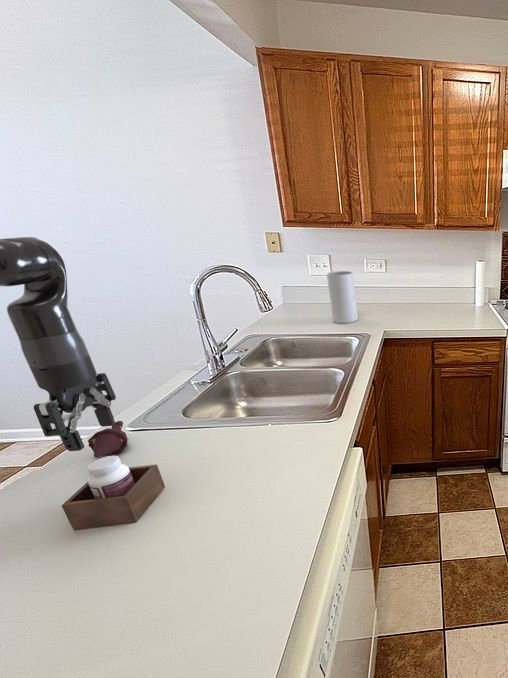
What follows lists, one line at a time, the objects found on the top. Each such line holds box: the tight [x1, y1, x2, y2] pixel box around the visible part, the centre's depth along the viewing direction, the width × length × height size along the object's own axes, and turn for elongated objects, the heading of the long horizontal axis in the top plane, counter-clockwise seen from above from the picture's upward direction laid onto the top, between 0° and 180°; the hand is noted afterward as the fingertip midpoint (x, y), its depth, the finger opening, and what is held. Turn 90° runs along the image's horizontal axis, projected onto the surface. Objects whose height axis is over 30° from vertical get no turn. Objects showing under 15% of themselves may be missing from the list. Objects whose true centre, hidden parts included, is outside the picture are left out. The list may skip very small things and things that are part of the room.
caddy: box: [61, 464, 166, 531], centre depth 80 cm, size 11×11×6 cm
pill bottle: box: [86, 455, 135, 499], centre depth 79 cm, size 6×6×11 cm
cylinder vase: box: [326, 270, 359, 324], centre depth 206 cm, size 12×12×25 cm
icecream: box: [87, 420, 129, 459], centre depth 97 cm, size 7×7×15 cm
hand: (93, 437), depth 75 cm, fingers open, 8 cm apart
